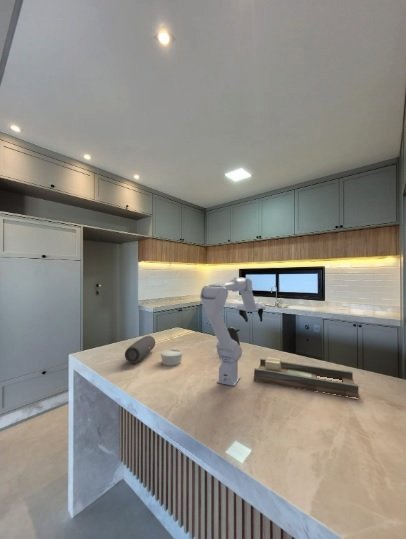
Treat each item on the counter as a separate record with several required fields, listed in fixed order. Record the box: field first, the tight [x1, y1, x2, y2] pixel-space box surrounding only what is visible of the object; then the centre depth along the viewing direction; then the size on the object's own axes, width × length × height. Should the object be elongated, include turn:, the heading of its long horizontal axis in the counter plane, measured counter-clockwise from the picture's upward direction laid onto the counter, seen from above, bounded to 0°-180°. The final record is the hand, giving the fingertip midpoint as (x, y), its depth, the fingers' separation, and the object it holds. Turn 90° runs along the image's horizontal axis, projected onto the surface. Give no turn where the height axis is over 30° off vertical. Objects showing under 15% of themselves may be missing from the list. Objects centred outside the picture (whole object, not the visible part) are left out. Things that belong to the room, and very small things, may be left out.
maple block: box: [265, 356, 282, 372], centre depth 110 cm, size 6×6×5 cm
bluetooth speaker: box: [124, 335, 157, 364], centre depth 133 cm, size 23×9×10 cm, turn 171°
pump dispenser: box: [227, 326, 241, 346], centre depth 142 cm, size 10×10×15 cm
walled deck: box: [253, 358, 360, 399], centre depth 105 cm, size 17×39×4 cm, turn 66°
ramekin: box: [160, 349, 184, 367], centre depth 127 cm, size 11×11×5 cm
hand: (254, 320), depth 126 cm, fingers open, 7 cm apart
